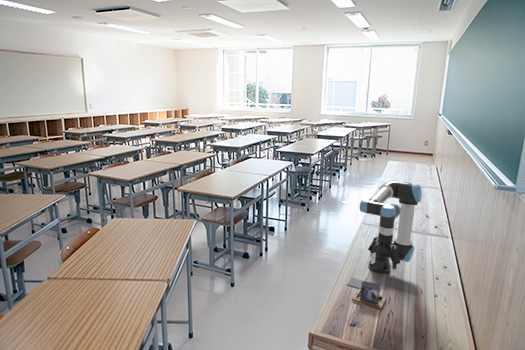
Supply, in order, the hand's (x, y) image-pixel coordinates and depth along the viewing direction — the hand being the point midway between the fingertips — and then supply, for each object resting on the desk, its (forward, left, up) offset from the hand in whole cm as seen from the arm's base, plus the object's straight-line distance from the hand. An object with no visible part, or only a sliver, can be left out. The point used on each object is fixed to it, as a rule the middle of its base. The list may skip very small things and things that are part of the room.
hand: (382, 268), depth 191 cm
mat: (-18, -18, -25) cm, 36 cm away
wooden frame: (-4, -6, -25) cm, 26 cm away
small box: (-4, -6, -25) cm, 26 cm away
